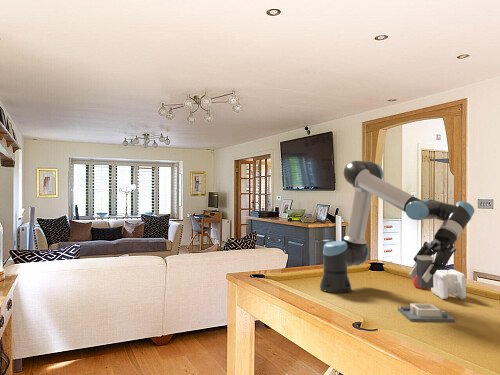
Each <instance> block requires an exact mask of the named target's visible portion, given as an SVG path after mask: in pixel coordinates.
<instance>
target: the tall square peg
mask: <svg viewBox="0 0 500 375" xmlns="http://www.w3.org/2000/svg"><path fill="white" fill-rule="evenodd" d="M433 262H434V257H433V256H428V255H417V285H418V286H420V287H421V288H424V289H428V288H429V289H431V288H433V275H432V276H431V278H430V279H429V281H428V282H425V281H424V279H423V278H422V277H423V275H424V274H425V272H426V271H427V269H428V268H429V266H430V265H431V264H432V263H433ZM432 265H433V264H432ZM421 288H420V289H421Z"/></svg>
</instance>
